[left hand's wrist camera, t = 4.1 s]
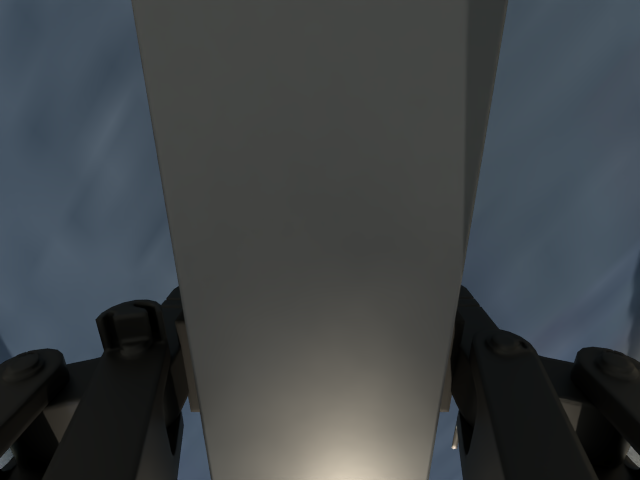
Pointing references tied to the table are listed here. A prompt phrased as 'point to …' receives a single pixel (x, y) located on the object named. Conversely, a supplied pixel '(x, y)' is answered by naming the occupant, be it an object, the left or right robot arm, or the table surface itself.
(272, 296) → the beam
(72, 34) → the table surface
